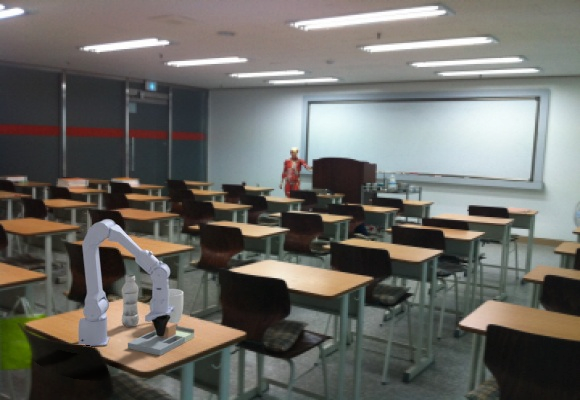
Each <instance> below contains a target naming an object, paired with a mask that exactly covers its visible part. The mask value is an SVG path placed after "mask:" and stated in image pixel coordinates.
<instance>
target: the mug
mask: <svg viewBox="0 0 580 400" xmlns="http://www.w3.org/2000/svg"><path fill="white" fill-rule="evenodd" d="M170 305H172V306H175V311H174V312H171V314H169V315H170V319H169V321H168V322H170V323H175V324H176V326H178V324H179V322H180V320H182V315H183V311H184V291H183V290H181V289H179V288H177V289H176V288H169V306H170ZM151 311H152V298H151V299H150V301H149V313H150V312H151Z"/></svg>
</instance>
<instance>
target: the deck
mask: <svg viewBox="0 0 580 400" xmlns="http://www.w3.org/2000/svg"><path fill="white" fill-rule="evenodd" d="M194 338H195V329H194V328H191V327H184V326H179V325H176V335H174V336H172V337H170V338H166V337H160V336H157V333H156V329H154V330H152V331H150V332H148V333H146V334H144V335H142V336H140V337H139V336H138V337H137V338H135V339H133V340H131V341H129V342H128V343H127V349H130V350H134V351H138V352H143V353H147V354H152V355H156V356H162V355H165V354H166V353H168V352H170V351H172V350H174V349H176V348H177V347H179V346H181V345H183V344H185V343H186V342H189V341H190V340H192V339H194Z"/></svg>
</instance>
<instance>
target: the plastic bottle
mask: <svg viewBox="0 0 580 400" xmlns="http://www.w3.org/2000/svg"><path fill="white" fill-rule="evenodd" d="M135 281H136V275H134V274H128V275H125V281H124V282H125V283H124V284H123V286H122V287H121V295H122V305H123V306H122V307H123V308H122V315H121V316H122V317H121V324H122V325H123V327H128V328H129V327H130V328H131V327H136V326H137V325H138V324H139V320H140V317H139V313H138V310H139V309H138V297H139V286H138V284H137V283H136V282H135Z"/></svg>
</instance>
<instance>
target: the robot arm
mask: <svg viewBox="0 0 580 400" xmlns="http://www.w3.org/2000/svg"><path fill="white" fill-rule="evenodd" d="M105 240H107V241H106V242H114V243H118V244H119V245H120V246H122V247H123V248H124V249H126V250H127V252H129V253H130V254H131V255H132V256H134V258H135V260H134V261H135V263H136V264H138V265H139V266H140V267H141V268H142V269H143V270H144V271H145V272H146V273H147V274H148V275H150V280H151V281H152V288H151V290H152V295H151V297H152V298H151V299H152V311H151V312H150V311H149V313H148V314H146V315H145V316H144V321H145V322H148V323H150V322H151V323H152V325H153V326H154V328H155V329H154V330H156V333H157V336H160V337H162V336H164V332H165V329H166V325H167V323H168V321H169V319H170V315H169V314H171V312H174V311H175V306H172V305H170V306H169V289H170V285H169V277H170V275H171V269H170V267H169V265H168V264H166V263H164V262H163V261H162V260H159V259H158V258H157V257H156V256H155V255H153V254H154V253H153V251H151V250H150V251H149V250H148V249H142V248H141V247H140V246H139V245H138V244H137V243H136V242H135V241H134V240H133V239H132V238H131V236H129V235H128V234H127V233H126V232H125V231H124V230H123V228H122V227H121V226H120V225H118V224H116V222H115V221H114V220H112V219H109V218H105V219H102V220H101V221H98V222H95V223H94V224H92V225H91V226H90V227H89V228H88V229H87V233H86V235H85V236H84V239H83V240H82V243H81V244H82V254H83V256H82V257H83V264H84V265H83V266H84V267H83V268H84V276H85V285H86V296H85V299H84V307H83V310H82V314H83V316H84V317H82V318H79V321H78V345H79V344H85V345H90V346H89V347H98V346H99V347H100V346H107V345H108V342H109V340H110V336H108V314H107V311H108V309H109V307H110V302H109V300H108V298H107V296H106V292H105V291H104V290H103V282H102V281H103V280H102V279H103V278H102V271H101V270H102V269H101V261H100V260H101V259H100V250H99V249H100V246H101V244H103V243H104V241H105Z"/></svg>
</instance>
